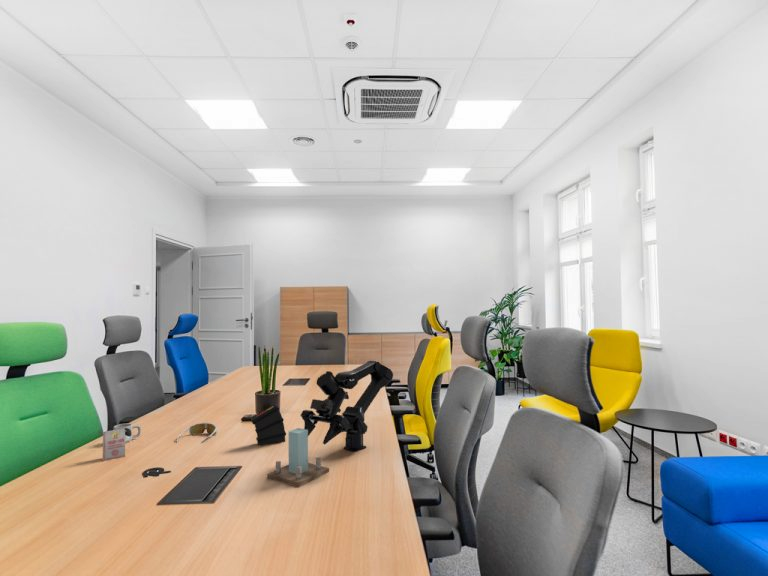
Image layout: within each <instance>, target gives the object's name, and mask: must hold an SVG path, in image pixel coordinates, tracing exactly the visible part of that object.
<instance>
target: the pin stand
mask: <svg viewBox="0 0 768 576" xmlns="http://www.w3.org/2000/svg"><path fill="white" fill-rule="evenodd" d="M329 472H330V467H327V466H323V465H322V458H321V457H315V464H314V463H310V462H308V470H307V471H305V472H303V473H301V466H297V467H296V474H295V473H291V472H289V464H287V465H284V466H282V461H281V460H277V461H275V469H274V470H273V471H271V472H268V473H267V474H266V477H267V479H269V480H273V481H277V482H281V483H285V484H288V485H290V486H295V487H298V488H300V487H302V486H304V485H306V484H308V483H309V482H312V481H314V480H315V479H317V478H319V477H321V476H323V475H325V474H327V473H329Z"/></svg>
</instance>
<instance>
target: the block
mask: <svg viewBox="0 0 768 576" xmlns="http://www.w3.org/2000/svg"><path fill="white" fill-rule="evenodd" d="M308 463H309V436H308V430H306V429H304V428H300V427H297V428H295V429H291V430H288V465H289V472H291V473H295V474H296V467H297V466H301V473H303V472H305V471H307V470H308Z"/></svg>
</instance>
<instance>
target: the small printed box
mask: <svg viewBox="0 0 768 576" xmlns="http://www.w3.org/2000/svg"><path fill="white" fill-rule="evenodd" d="M124 457H126V443H125V428H124V429H118V430H114V429H113V430H106V431H103V433H102V461H108V460H110V461H111V460H115V459H119V458H124Z"/></svg>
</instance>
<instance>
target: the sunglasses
mask: <svg viewBox="0 0 768 576" xmlns="http://www.w3.org/2000/svg"><path fill="white" fill-rule="evenodd" d="M186 432H189V433H188V434H189V435H190V436H193V435H199V433H203V434H204V432H206V433H207V434H208V433H211V434H210V435H208V436H207V437H206V438H204V439H203V440H202V441H201V442H200V444H203V443H204V442H206V441H207V440H208V439H210V438H211V437H212V436H213V434H214V436H217V434H218V433H217V432H218V428H217V425H215V423H212V422H198V423H195V424H192V425H190V426H189V427H188V428H186V429H184V430H183V431H182V432H181V433H180V434H178V437H177V441H176V444H179V439H180V438H181V436H182V435H183V434H184V433H186ZM192 434H193V435H192Z"/></svg>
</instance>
